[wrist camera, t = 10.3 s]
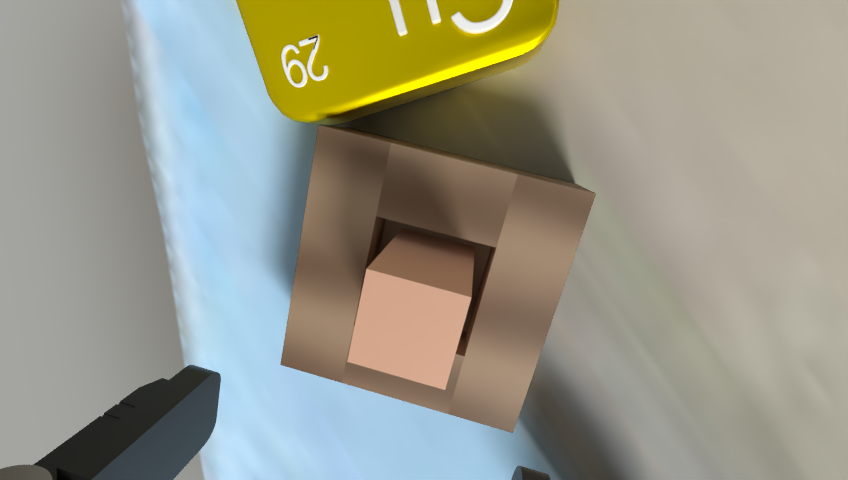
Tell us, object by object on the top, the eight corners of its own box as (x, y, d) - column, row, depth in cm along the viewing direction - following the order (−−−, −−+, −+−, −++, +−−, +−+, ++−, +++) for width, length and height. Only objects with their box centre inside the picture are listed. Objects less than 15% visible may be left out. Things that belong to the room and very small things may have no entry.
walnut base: (346, 127, 25) (318, 125, 21) (575, 183, 24) (596, 193, 20) (310, 330, 29) (280, 364, 24) (508, 386, 28) (512, 432, 23)
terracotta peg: (402, 227, 25) (366, 268, 17) (474, 246, 24) (471, 297, 17) (387, 294, 26) (347, 361, 18) (456, 313, 25) (445, 390, 18)
